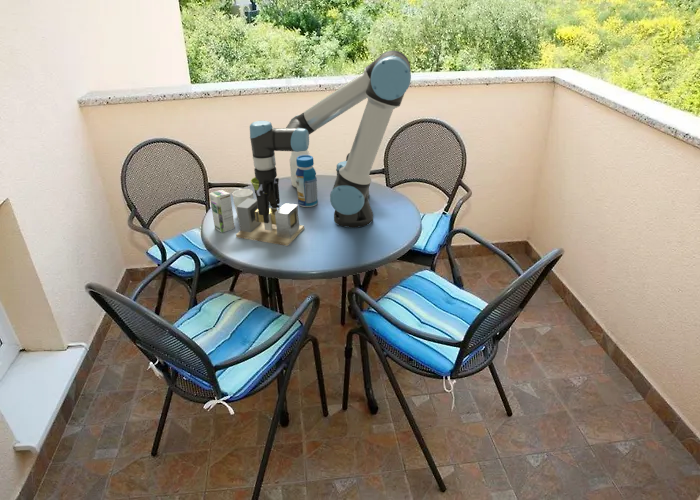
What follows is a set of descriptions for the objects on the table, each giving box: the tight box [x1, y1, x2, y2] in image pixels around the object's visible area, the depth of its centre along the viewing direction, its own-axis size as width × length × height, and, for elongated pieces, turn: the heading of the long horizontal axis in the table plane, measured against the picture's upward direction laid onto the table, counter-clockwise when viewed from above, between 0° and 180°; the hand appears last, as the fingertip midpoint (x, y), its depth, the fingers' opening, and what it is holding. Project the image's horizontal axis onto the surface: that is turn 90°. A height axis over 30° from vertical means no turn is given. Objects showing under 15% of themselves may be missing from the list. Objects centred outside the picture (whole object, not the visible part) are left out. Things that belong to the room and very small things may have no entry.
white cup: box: [231, 188, 254, 218], centre depth 201 cm, size 8×8×10 cm
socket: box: [236, 198, 261, 232], centre depth 190 cm, size 4×8×10 cm, turn 160°
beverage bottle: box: [296, 154, 319, 208], centre depth 207 cm, size 8×8×20 cm
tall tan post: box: [255, 208, 295, 226], centre depth 186 cm, size 14×4×4 cm, turn 70°
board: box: [235, 222, 305, 247], centre depth 190 cm, size 21×14×1 cm, turn 70°
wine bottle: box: [289, 148, 311, 189], centre depth 222 cm, size 10×10×30 cm
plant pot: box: [250, 176, 267, 194], centre depth 215 cm, size 9×9×9 cm
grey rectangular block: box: [275, 202, 300, 239], centre depth 185 cm, size 5×8×10 cm, turn 160°
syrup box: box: [209, 189, 236, 234], centre depth 191 cm, size 6×6×14 cm
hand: (271, 226), depth 188 cm, fingers closed on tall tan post, 4 cm apart
